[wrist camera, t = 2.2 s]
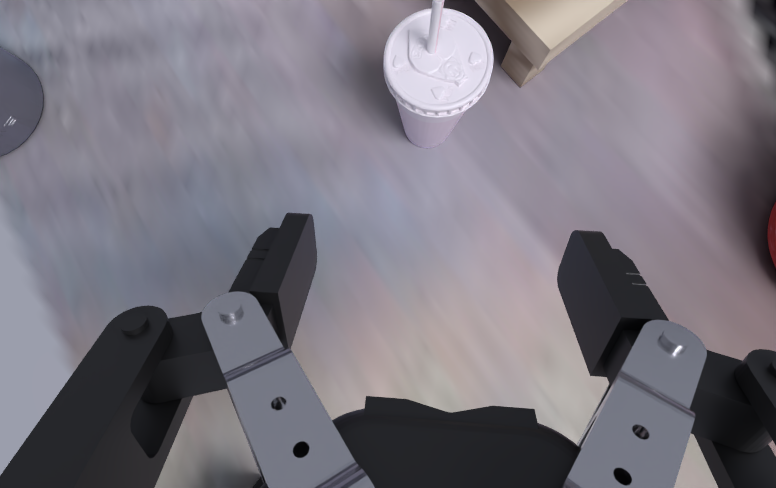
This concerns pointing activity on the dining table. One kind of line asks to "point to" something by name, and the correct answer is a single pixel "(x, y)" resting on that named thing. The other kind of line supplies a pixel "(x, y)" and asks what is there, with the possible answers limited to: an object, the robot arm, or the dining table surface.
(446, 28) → the smoothie
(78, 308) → the dining table surface
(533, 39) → the low wooden platform
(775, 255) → the plant pot
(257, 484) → the digital camera
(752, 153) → the dining table surface
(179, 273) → the dining table surface
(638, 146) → the dining table surface
